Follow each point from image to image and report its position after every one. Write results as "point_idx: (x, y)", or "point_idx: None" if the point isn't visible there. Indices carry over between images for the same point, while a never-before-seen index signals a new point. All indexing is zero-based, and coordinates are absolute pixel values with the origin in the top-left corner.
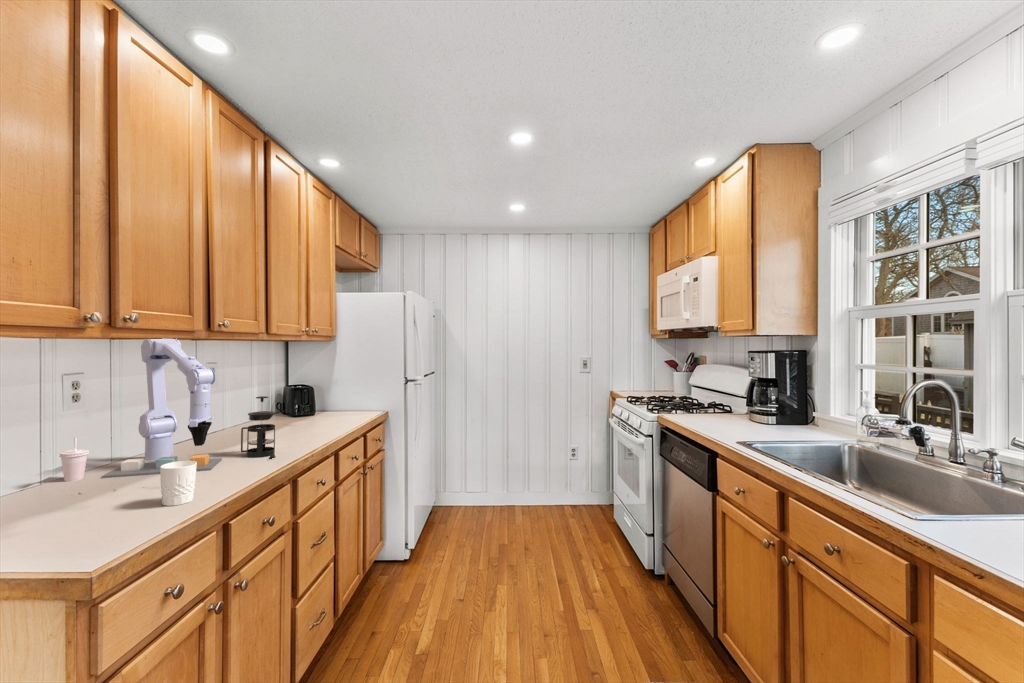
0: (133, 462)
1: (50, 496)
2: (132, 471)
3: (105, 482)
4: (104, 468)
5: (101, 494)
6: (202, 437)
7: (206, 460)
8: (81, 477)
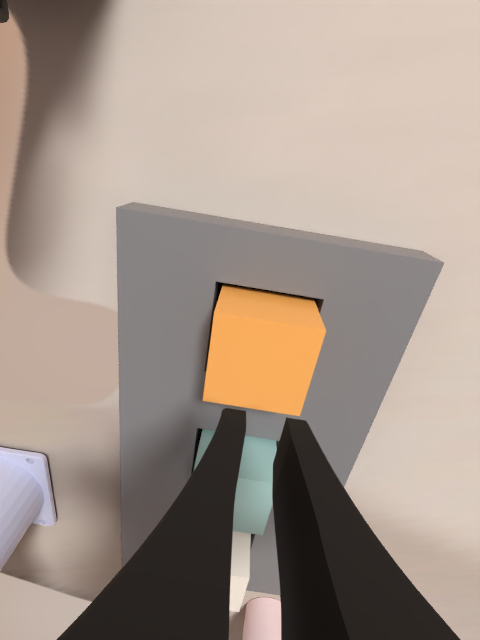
0: (246, 585)
1: None
2: (272, 546)
3: None
4: (81, 579)
5: (463, 556)
6: (347, 507)
7: (280, 308)
8: (275, 624)
